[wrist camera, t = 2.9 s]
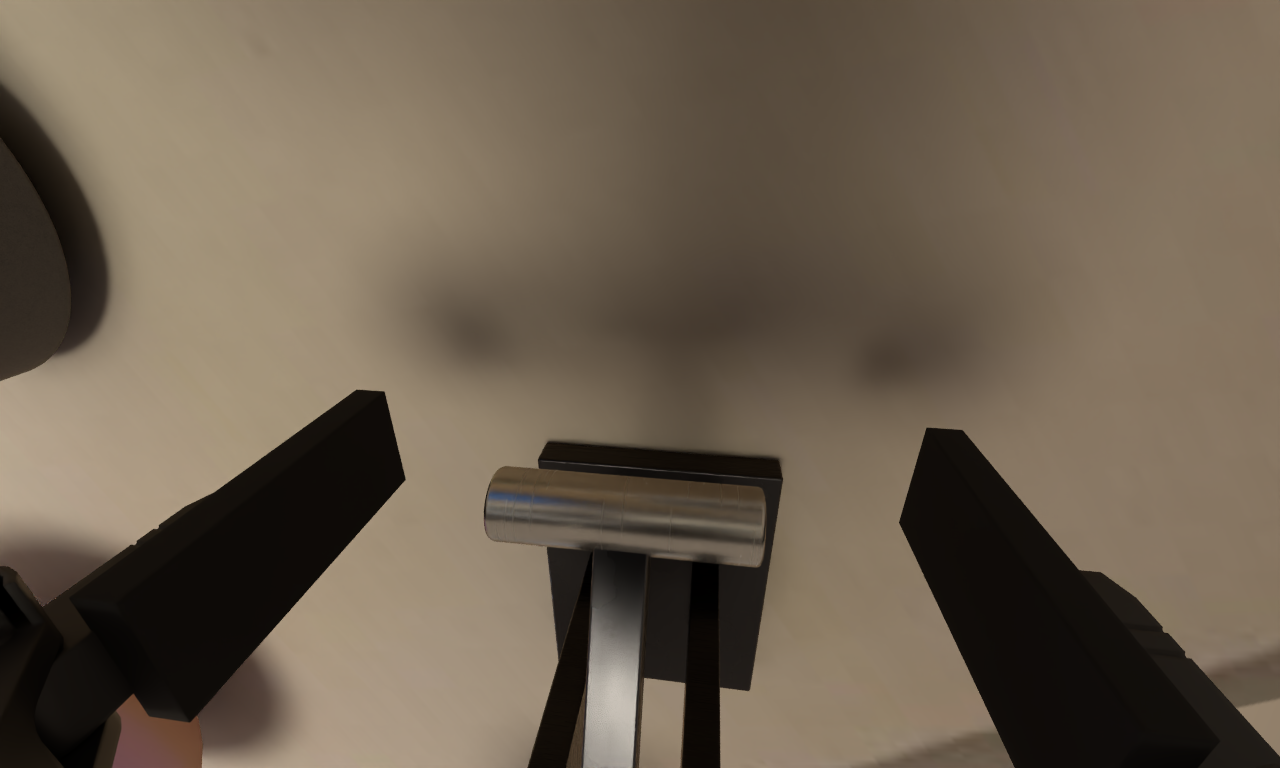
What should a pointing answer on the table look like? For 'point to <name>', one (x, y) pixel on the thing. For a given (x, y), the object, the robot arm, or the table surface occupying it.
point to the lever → (623, 568)
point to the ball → (156, 740)
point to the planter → (28, 275)
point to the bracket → (661, 608)
